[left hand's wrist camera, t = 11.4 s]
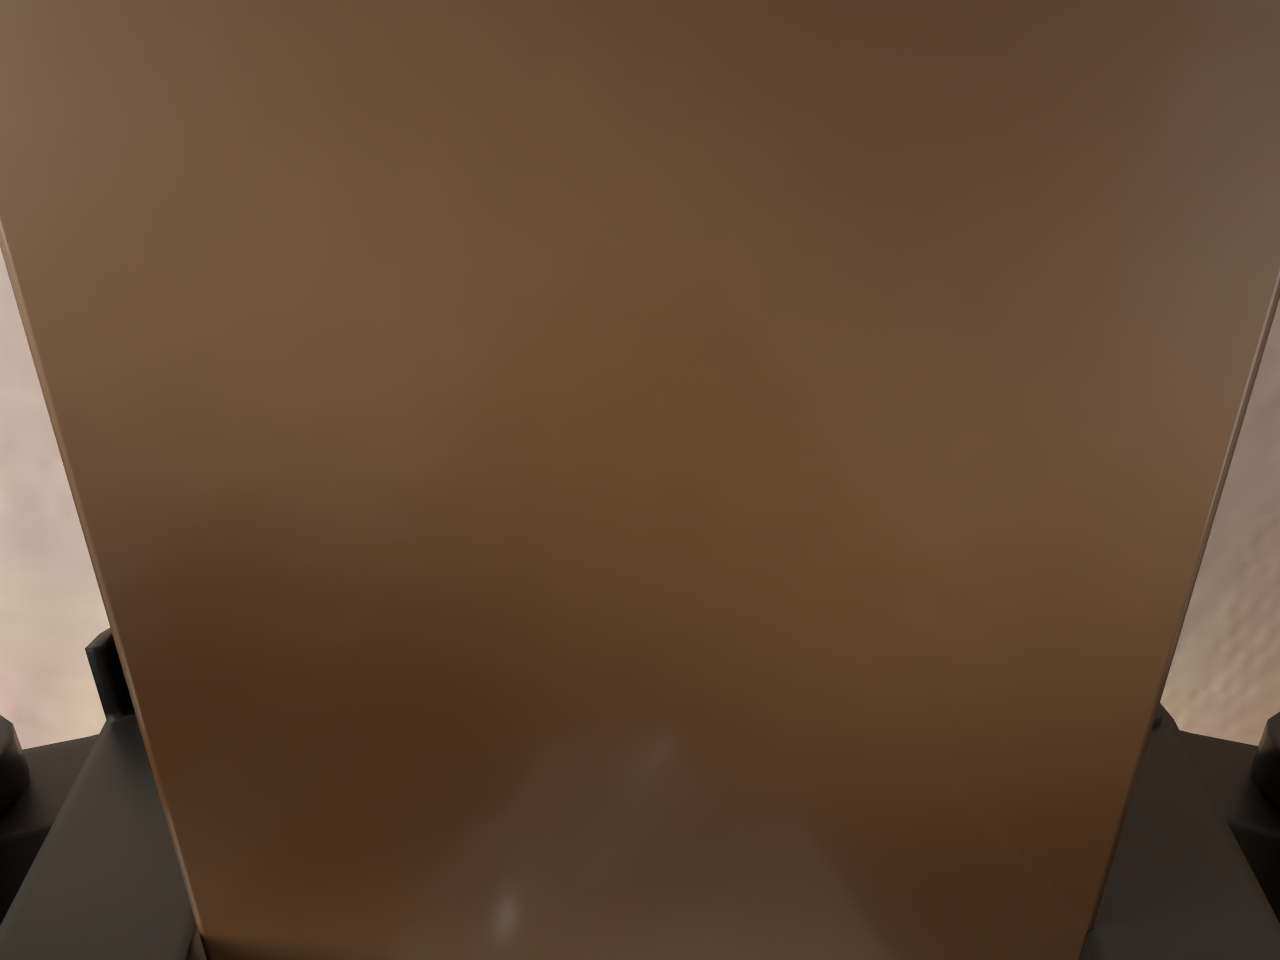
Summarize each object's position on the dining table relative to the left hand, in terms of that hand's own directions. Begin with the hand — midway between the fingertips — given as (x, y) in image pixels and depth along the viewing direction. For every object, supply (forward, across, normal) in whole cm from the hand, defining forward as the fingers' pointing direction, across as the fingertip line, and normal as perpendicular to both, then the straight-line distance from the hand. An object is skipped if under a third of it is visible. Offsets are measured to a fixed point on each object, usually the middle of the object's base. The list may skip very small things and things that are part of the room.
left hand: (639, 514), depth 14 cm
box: (+2, 0, -8) cm, 8 cm away
